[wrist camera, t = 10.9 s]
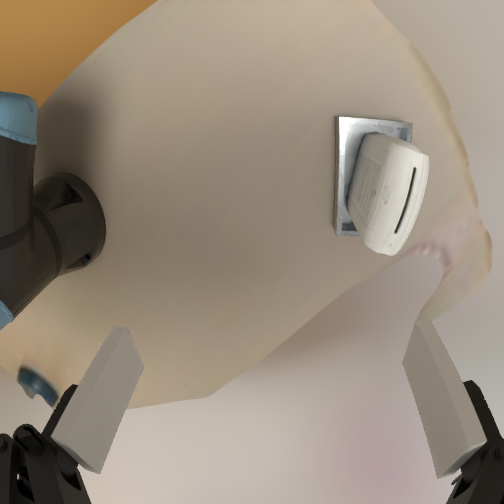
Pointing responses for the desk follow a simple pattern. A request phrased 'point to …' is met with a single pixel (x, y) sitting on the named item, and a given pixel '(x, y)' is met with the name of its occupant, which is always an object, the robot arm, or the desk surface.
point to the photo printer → (387, 191)
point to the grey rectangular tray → (346, 155)
